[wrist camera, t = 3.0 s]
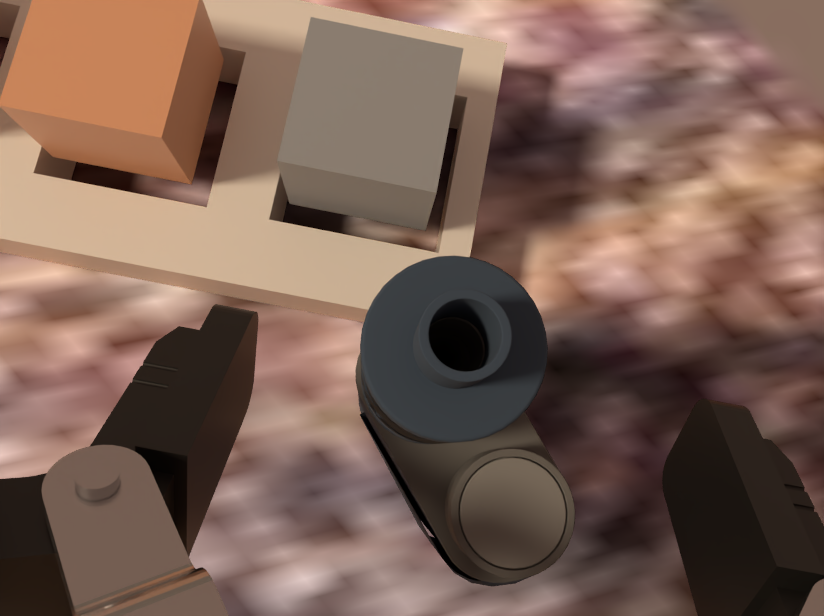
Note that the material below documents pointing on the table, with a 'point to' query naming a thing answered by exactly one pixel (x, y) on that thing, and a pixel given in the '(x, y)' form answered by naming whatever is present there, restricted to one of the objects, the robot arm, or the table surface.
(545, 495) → the vaping device
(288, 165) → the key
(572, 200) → the table surface
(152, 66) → the key mid
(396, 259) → the keypad base
